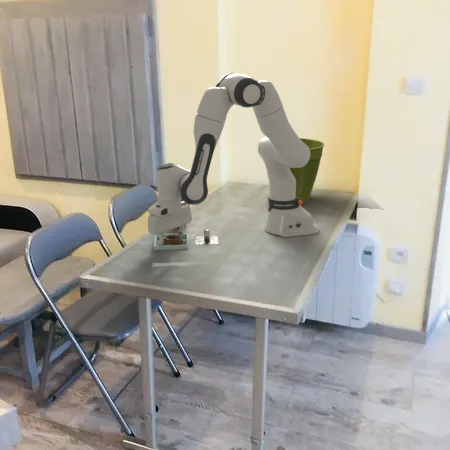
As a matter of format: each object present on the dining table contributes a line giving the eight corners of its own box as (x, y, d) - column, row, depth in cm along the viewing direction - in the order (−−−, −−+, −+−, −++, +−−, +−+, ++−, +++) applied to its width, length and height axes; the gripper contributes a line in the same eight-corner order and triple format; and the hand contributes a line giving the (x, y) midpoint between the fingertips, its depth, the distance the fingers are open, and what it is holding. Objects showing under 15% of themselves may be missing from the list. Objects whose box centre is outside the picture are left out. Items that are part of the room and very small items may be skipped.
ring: (161, 244, 207) (160, 237, 206) (172, 240, 211) (172, 233, 210) (176, 249, 202) (175, 242, 201) (187, 245, 206) (187, 238, 205)
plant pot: (253, 205, 256) (254, 146, 247) (272, 189, 282) (273, 136, 273) (313, 211, 246) (316, 150, 236) (327, 194, 272) (330, 139, 262)
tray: (188, 238, 214) (188, 233, 213) (188, 251, 202) (188, 245, 201) (156, 239, 213) (155, 234, 212) (153, 252, 201) (153, 246, 200)
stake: (217, 237, 214) (217, 226, 213) (218, 246, 206) (218, 233, 204) (195, 238, 214) (195, 226, 212) (195, 246, 206) (195, 234, 204)
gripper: (183, 198, 211) (184, 230, 216) (144, 210, 197) (146, 244, 201) (194, 200, 207) (195, 233, 212) (155, 213, 193) (157, 248, 197)
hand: (171, 239), depth 207 cm, fingers open, 8 cm apart
